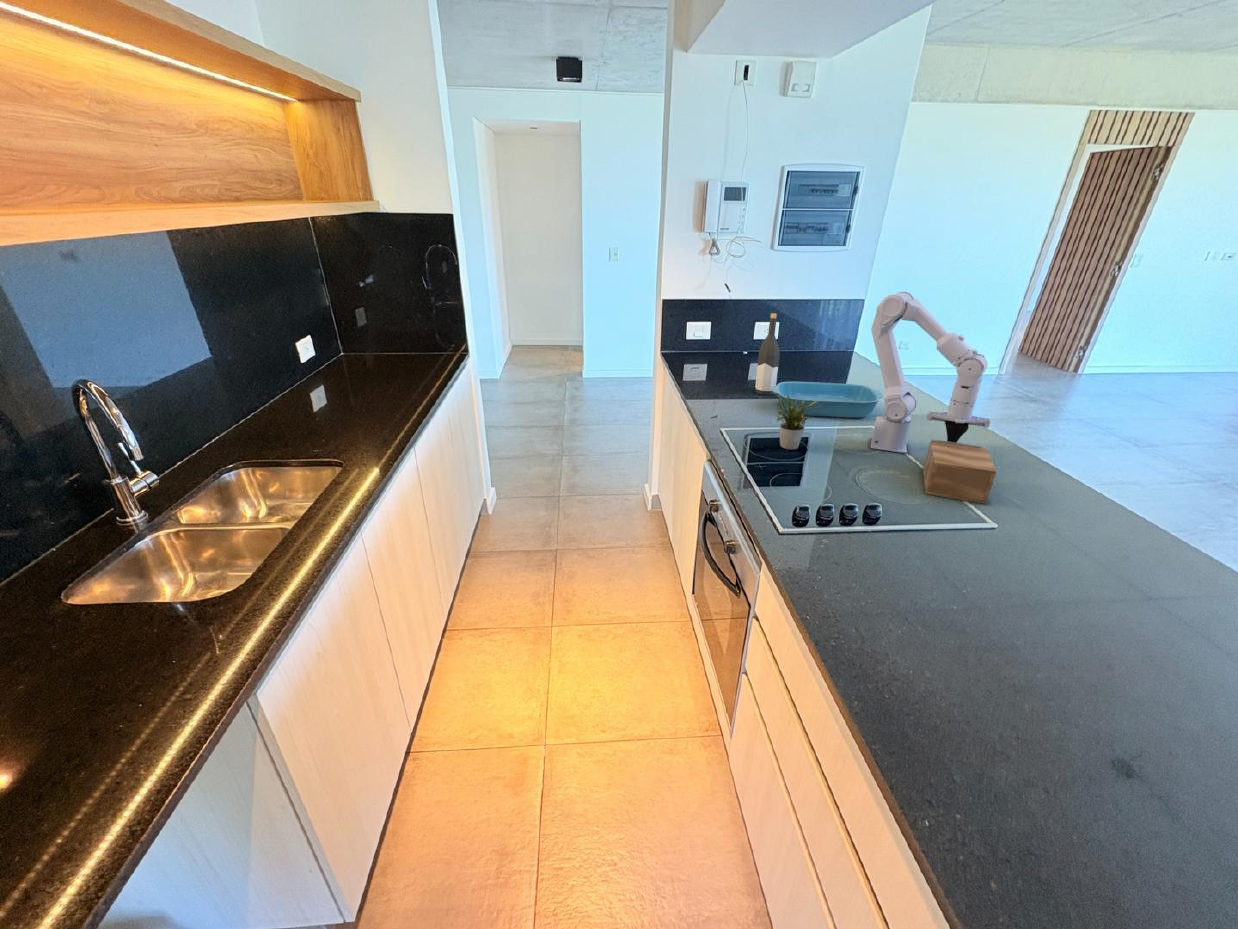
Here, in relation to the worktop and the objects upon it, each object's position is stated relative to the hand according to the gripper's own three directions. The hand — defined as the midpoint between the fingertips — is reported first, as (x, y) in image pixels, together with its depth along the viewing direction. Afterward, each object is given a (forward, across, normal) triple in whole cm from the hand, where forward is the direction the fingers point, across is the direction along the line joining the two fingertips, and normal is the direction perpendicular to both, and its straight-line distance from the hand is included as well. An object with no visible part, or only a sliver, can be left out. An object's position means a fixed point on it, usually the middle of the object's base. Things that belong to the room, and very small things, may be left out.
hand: (949, 447), depth 146 cm
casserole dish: (+4, -36, +32) cm, 49 cm away
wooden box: (+4, 0, -18) cm, 18 cm away
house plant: (+4, -43, -8) cm, 44 cm away
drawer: (+3, 0, -10) cm, 11 cm away
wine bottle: (+4, -59, +46) cm, 74 cm away
